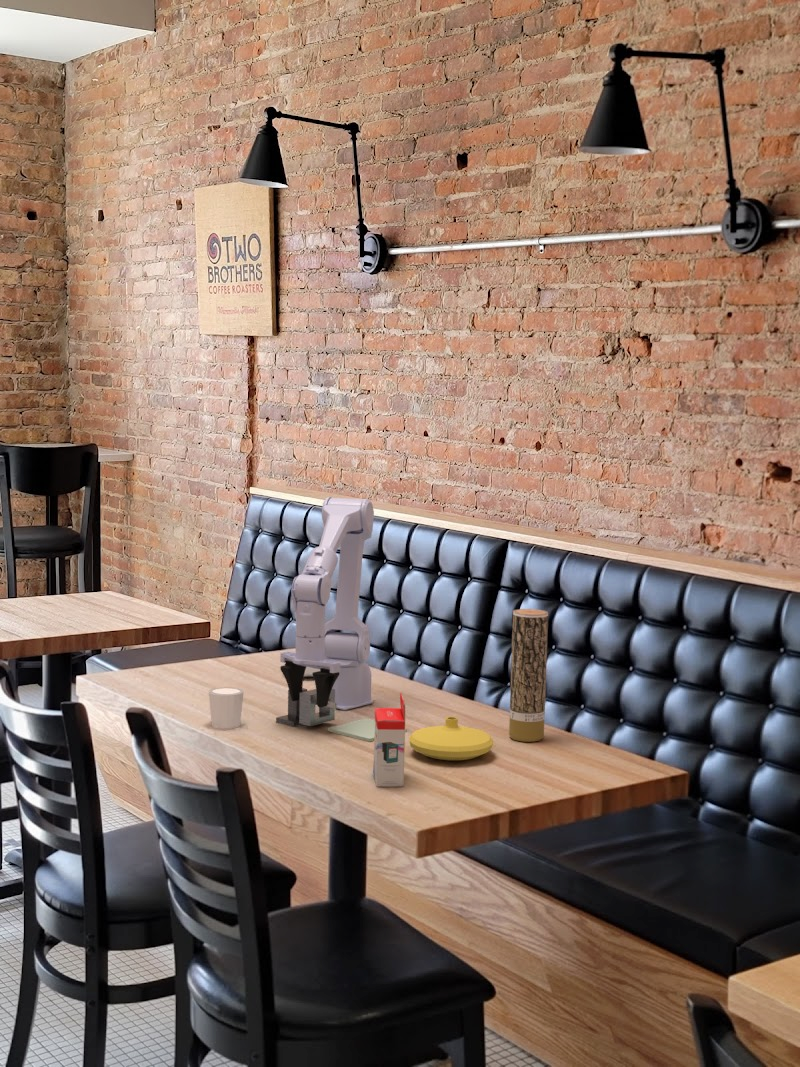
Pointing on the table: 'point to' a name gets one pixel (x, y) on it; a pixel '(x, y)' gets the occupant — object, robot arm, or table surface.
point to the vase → (451, 741)
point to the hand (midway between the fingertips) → (309, 703)
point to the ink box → (389, 746)
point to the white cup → (226, 707)
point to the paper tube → (528, 674)
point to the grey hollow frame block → (308, 709)
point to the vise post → (296, 712)
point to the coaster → (357, 729)
